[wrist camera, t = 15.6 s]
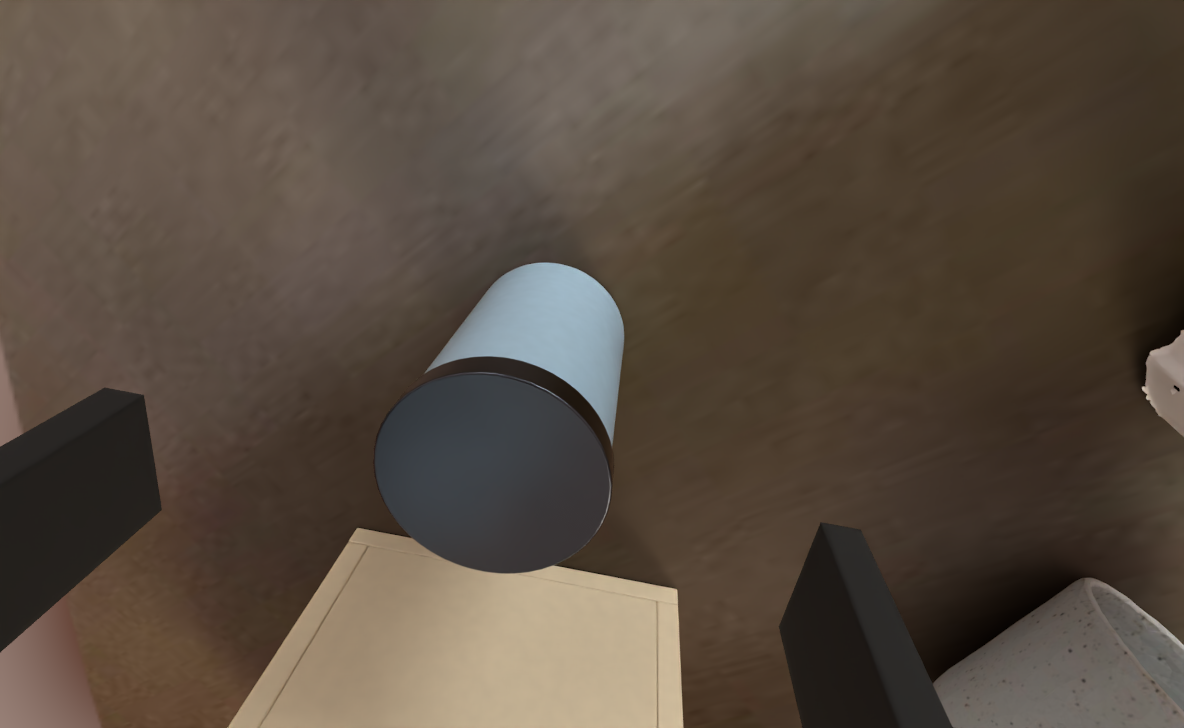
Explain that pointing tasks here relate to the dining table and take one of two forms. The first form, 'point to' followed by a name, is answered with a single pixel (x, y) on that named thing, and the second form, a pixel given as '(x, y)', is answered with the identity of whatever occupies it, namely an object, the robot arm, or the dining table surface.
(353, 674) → the tan storage tray
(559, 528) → the coffee tin
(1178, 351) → the shaker set
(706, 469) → the dining table surface
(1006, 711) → the ceramic mug
